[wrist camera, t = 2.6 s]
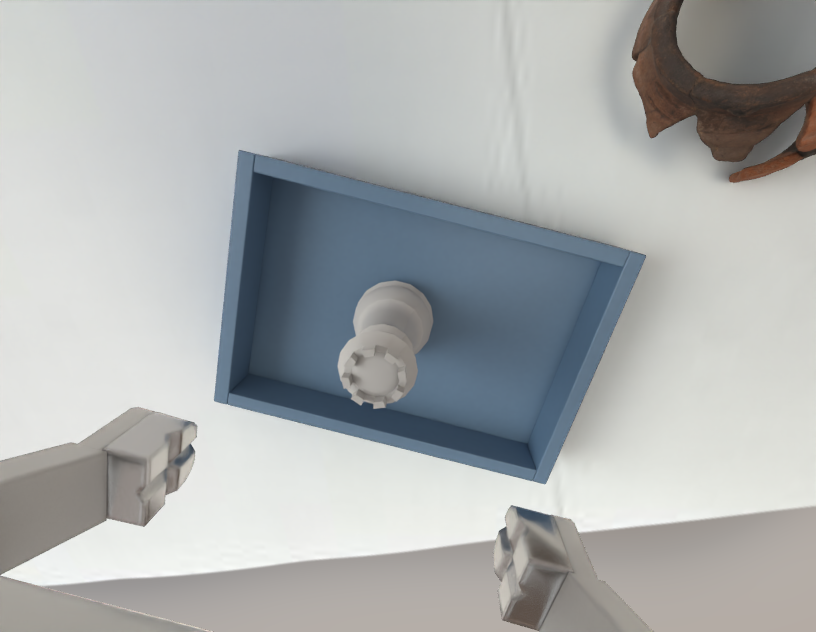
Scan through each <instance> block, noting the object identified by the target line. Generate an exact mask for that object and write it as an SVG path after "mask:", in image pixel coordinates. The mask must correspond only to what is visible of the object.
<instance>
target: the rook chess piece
mask: <svg viewBox="0 0 816 632" xmlns="http://www.w3.org/2000/svg"><path fill="white" fill-rule="evenodd" d="M353 324H354V329H355V334H356V337H354V338H352V339H350V340H349V341H348V342H347V344H346V345H345V346H344V348H343V349H342V350H341V352H340V356H339V361H338V371H339V375H340V380H341V381H342V384H343V388H344V389H345V388H346V389H347V390H348V391H349V393H351V394H352V397H351V399H352V400H353V401H355V402H356V403H358V404H359V405H362V403H363V401H364V402H368V403H372V404H373V409H377V408H386V404H388V403H393V402H395V401H396V402H397V401H398V400H399V399H401V398H403V397H405V396H406V394H407V393H408V392H409V391H410V390H411V389H412V387H413V386H414V384H415V380H416V377H417V373H418V369H417V363H416V357H415V354H417V353H418V352H419V351H420V350H421V349H422V347H423V346H424V345H425V344H426V343H427V341H428V339H429V336H430V332H431V328H432V325H433V315H432V308H431V305H430V304H429V302H428V301H427V299H426V297H425V296H424V294H423V293H422V292H420V291H419V290H418V289H416V288H415V287H413V286H412V285H411V284H407V283H403V282H399V281H388V282H381V283H378V284H377V285H375V286H373V287H372V288H370V289H368V290H367V291H366V292H365V293H364V295H363V296H362V298H361V299H360V300H359V302H358V305H357V307H356V310H355V315H354V319H353Z"/></svg>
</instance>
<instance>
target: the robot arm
mask: <svg viewBox="0 0 816 632" xmlns="http://www.w3.org/2000/svg"><path fill="white" fill-rule="evenodd" d="M196 437H197V425H196V424H195V423H194V422H191V421H187V420H184V419H180V418H177V417H173V416H170V415H166V414H163V413H159V412H154V411H151V410H147V409H144V408H140V407H135V408H131V409H129V410H128V411H126V412H125V413H123V414H122V415H120V416H119V417H117V418H116V419H114V420H113V421H111V422H110V423H108V424H107V425H105V426H104V427H102V428H101V429H99V430H98V431H96V432H95V433H93V434H92V435H90V436H89V437H87V438H86V439H84V440H83V441H81V442H80V443H78V444H76V443H72V442H71V443H67V444H63V445H59V446H55V447H52V448H48V449H44V450H40V451H36V452H32V453H29V454H25V455H21V456H17V457H13V458H9V459H5V460H2V461H0V575H1V574H3V573H5V572H7V571H9V570H11V569H13V568H15V567H17V566H19V565H20V564H22V563H24V562H26V561H28V560H30V559H32V558H34V557H36V556H38V555H40V554H42V553H44V552H46V551H48V550H50V549H52V548H54V547H56V546H57V545H59V544H61V543H63V542H65V541H67V540H69V539H71V538H73V537H75V536H77V535H79V534H81V533H83V532H85V531H87V530H89V529H91V528H93V527H95V526H96V525H98V524H100V523H102V522H104V521H106V518H108V519H112V520H117V521H121V522H126V523H130V524H134V525H139V526H143V527H144V526H145V525H146V524H147V523H148V522H149V521H150V520H151V519H152V518H153V517H154V515H155V514H156V513H157V512H158V511H159V510H160V509H161V508H162V507H163V506H164V504H165V495H167V494H170V493H172V492H174V491H177V490H178V489H179V488H180V487H181V485H182V484H183V483H184V482H185V481H186V479H187V477H188V475H189V473H190V472H191V470H192V467H193V463H194V460H195V450H194V449H193V447H192V445H191V442H192V441H193V440H194V439H195V438H196ZM505 521H506V527H505V528H503V529H501V530H500V531H499V533H498V535H497V538H496V541H495V547H494V553H493V554H494V555H493V556H494V557H493V558H494V569H495V574H496V575H497V576H498V578H499V579H500V581H501V584H500V587H499V589H498V597H499V603H500V610H501V616H502V620H504V621H507V622H510V623H513V624H517V625H520V626H524V627H527V628H531V629H534V630H537V631H539V632H653V630H652V629H651V628H649V626H648V625H647V624H646V623H645V622H644V621H643V620H642V619H641V618H640V617H639V616H638V615H637V614H636V613H635V612H634V611H633V610H632V609H631V608H630V607H629V606H628V605H627V604H626V603H625V602H624V601H623V600H622V599H621V598H620V597H619V596H618V595H617V593H616V592H614V590H613V589H612V588H611V587H610V586H609V585H608V584H607V583H606V582H605V581H601V580H598V578H597V575H596V573H595V571H594V568H593V566H592V564H591V561H590V559H589V557H588V554H587V552H586V549H585V547H584V545H583V542H582V540H581V538H580V536H579V533H578V531H577V528H576V526H575V524H574V522H573V521H572V520H571V519H567V518H563V517H559V516H554V515H548V514H544V513H540V512H536V511H532V510H528V509H524V508H520V507H516V506H512V505H511V507H510V508H509V509H508V511H507V513H506V515H505ZM0 632H213V631H209V630H206V629H202V628H198V627H194V626H190V625H187V624H183V623H179V622H175V621H171V620H167V619H164V618H159V617H156V616H152V615H148V614H144V613H140V612H137V611H133V610H129V609H125V608H121V607H118V606H114V605H110V604H106V603H102V602H99V601H95V600H91V599H87V598H83V597H79V596H75V595H71V594H68V593H64V592H60V591H56V590H52V589H49V588H45V587H41V586H37V585H33V584H30V583H26V582H22V581H18V580H14V579H11V578H7V577H3V576H0Z"/></svg>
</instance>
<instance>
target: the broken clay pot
mask: <svg viewBox="0 0 816 632" xmlns="http://www.w3.org/2000/svg"><path fill="white" fill-rule="evenodd" d="M683 1H684V0H654V1H653V2H652V4H651V6H650V7H649V9H648V11H647V13H646V15H645V17H644V19H643V21H642V23H641V25H640V28H639V30H638V33H637V37H636V40H635V44H634V47H633V51H632V58H633V60H635V61H637V62H636V64H635V66H634V68H633V72H632V75H633V79H634V83H635V86H636V88H637V90H638V92H639V95H640V97H641V99H642V102H643V105H644V109H645V114H646V118H647V120H646V124H647V129H648V133H649V136H650V138H654V137H656V136H657V135H658V133H659V132H661V131H663V130H664V129H666V128H668V127H671V126H673V125H674V124H676V123H678V122H679V121H682V120H684V119H686V118H688V117H690V116H693V115H696V116H697V133H698V134H699V136H700V139H701V140H702V142H703V143H704V144H706V145H707V146H708V147H709V148H710V149H711V151H712V155H713V157H714V158H715V159H716V160H718V161H728V162H739V161H742V160H744V159H745V158H746V156H747V155H748V153H749V152H750V151H751V150H752V149H753V147H754V145H756V144H757V143H759V142H761V141H762V140H764V139H765V138H766V137H768V136H769V135H770V134H771V133H772V132H773V131H774V130H775V129H776V128H777V127H778V126H779V125H780V124H781V123H782V122H784V121H785V120H786V119H788V118H789V117H790V116H791V115H792V114H793V113H795V112H796V111H797V110H799V109H800V108H801V107H802V106H803V105H804V104H805V107H806V117H805V121H804V124H803V127H802V129H801V131H800V133H799V134H798V136H797V139H796V141H795V142H794V143H793V144H792V145H791V146H790V147H788V148H787V149H786V150H784V151H783V152H782V153H781V154H779V155H777V156H775V157H774V158H772V159H770V160H768V161H766V162H764V163H762V164H758V165H754V166H751V167H747V168H744V169H743V170H741V171H739V172H736V173H734V174H732V175H731V176H730V177H729V181H730V182H733V183H735V182H740V181H745V180H751V179H756V178H760V177H763V176H766V175H769V174H771V173H773V172H776V171H779V170H782V169H785V168H787V167H789V166H791V165H793V164H795V163H796V162H798V161H799V160H803V159H804V158H807V157H809V156H812V155H815V154H816V67H815V68H814V69H813V70H811V71H807V72H804V73H801V74H798V75H795V76H793V77H789V78H786V79H782V80H778V81H774V82H769V83H761V84H731V83H726V82H719V81H716V80H712V79H707V78H705V77H704V76H703V75H701V74H700V73H699V72H697V71H696V70H695V69H693V67H692V66H691V65H690V64H689V63H688V62H687V61H686V59H685V58H684V57H683V56H682V54H681V52H680V50H679V47H678V45H677V38H676V25H677V17H678V14H679V11H680V8H681V5H682V3H683Z"/></svg>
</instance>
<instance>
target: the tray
mask: <svg viewBox="0 0 816 632" xmlns="http://www.w3.org/2000/svg"><path fill="white" fill-rule="evenodd" d="M645 258H646V255H644V254H640V253H637V252H633V251H630V250H626V249H623V248H620V247H616V246H612V245H608V244H604V243H600V242H597V241H593V240H589V239H585V238H581V237H577V236H573V235H569V234H566V233H562V232H558V231H554V230H550V229H546V228H542V227H538V226H535V225H531V224H527V223H523V222H519V221H515V220H511V219H507V218H504V217H500V216H496V215H492V214H488V213H484V212H480V211H476V210H473V209H469V208H465V207H461V206H457V205H453V204H449V203H445V202H442V201H438V200H434V199H430V198H426V197H422V196H418V195H415V194H411V193H407V192H403V191H399V190H395V189H391V188H387V187H384V186H380V185H376V184H372V183H368V182H364V181H360V180H356V179H353V178H349V177H345V176H341V175H337V174H333V173H329V172H325V171H322V170H318V169H314V168H310V167H306V166H302V165H298V164H294V163H291V162H287V161H283V160H279V159H275V158H271V157H267V156H263V155H259V154H254V153H250V152H246V151H241V150H239V151H238V161H237V172H236V182H235V192H234V202H233V212H232V223H231V233H230V243H229V253H228V263H227V274H226V284H225V294H224V304H223V314H222V324H221V335H220V345H219V355H218V365H217V375H216V386H215V396H214V401H215V402H219V403H223V404H228V405H231V406H235V407H239V408H243V409H247V410H251V411H255V412H259V413H263V414H267V415H271V416H275V417H279V418H283V419H287V420H291V421H295V422H299V423H303V424H307V425H311V426H315V427H319V428H323V429H327V430H331V431H335V432H339V433H343V434H347V435H351V436H355V437H359V438H363V439H367V440H371V441H375V442H379V443H383V444H386V445H390V446H394V447H398V448H402V449H406V450H410V451H414V452H418V453H422V454H426V455H430V456H434V457H438V458H442V459H446V460H450V461H454V462H458V463H462V464H466V465H470V466H474V467H478V468H482V469H486V470H490V471H494V472H498V473H502V474H506V475H510V476H514V477H518V478H522V479H526V480H530V481H532V480H533V481H534V482H538V483H542V484H546V482H547V480H548V478H549V475H550V473H551V471H552V469H553V466H554V464H555V462H556V460H557V457H558V455H559V453H560V450H561V448H562V446H563V444H564V441H565V439H566V437H567V435H568V432H569V430H570V428H571V426H572V423H573V421H574V419H575V416H576V414H577V412H578V410H579V407H580V405H581V403H582V401H583V398H584V396H585V394H586V392H587V389H588V387H589V385H590V382H591V380H592V378H593V376H594V373H595V371H596V369H597V367H598V364H599V362H600V360H601V358H602V355H603V353H604V351H605V348H606V346H607V344H608V342H609V339H610V337H611V335H612V333H613V330H614V328H615V326H616V324H617V321H618V319H619V317H620V314H621V312H622V310H623V308H624V305H625V303H626V301H627V299H628V296H629V294H630V292H631V290H632V287H633V285H634V283H635V280H636V278H637V276H638V274H639V271H640V269H641V267H642V265H643V262H644V260H645ZM388 281H399V282H403V283H407V284H411V285H412V286H413V287H415V288H416V289H418V290H419V291H420V292H422V293H423V294H424V296H425V297H426V299H427V301H428V302H429V304H430V305H431V308H432V315H433V325H432V328H431V332H430V336H429V339H428V341H427V343H426V344H425V345H424V346H423V347H422V349H421V350H420V351H419V352H418V353H417V354H415V357H416V363H417V369H418V373H417V377H416V380H415V384H414V386H413V387H412V389H411V390H410V391H409V392H408V393H407V394H406V396H405V397H403V398H401V399H399V400H398V401H397V402H396V401H395V402H393V403H388V404H386V408H377V409H373V404H372V403H368V402H364V401H363V403H362V405H359V404H358V403H356V402H355V401H353V400H352V399H351V397H352V394H351V393H349V391H348V390H347V389H346V388H345V389H344V388H343V384H342V381H341V380H340V375H339V371H338V361H339V356H340V352H341V350H342V349H343V348H344V346H345V345H346V344H347V342H348V341H349V340H350V339H352V338H354V337H356V334H355V329H354V324H353V319H354V315H355V310H356V307H357V305H358V302H359V300H360V299H361V298H362V296H363V295H364V293H365V292H366V291H367V290H368V289H370V288H372V287H373V286H375V285H377V284H378V283H381V282H388Z"/></svg>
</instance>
